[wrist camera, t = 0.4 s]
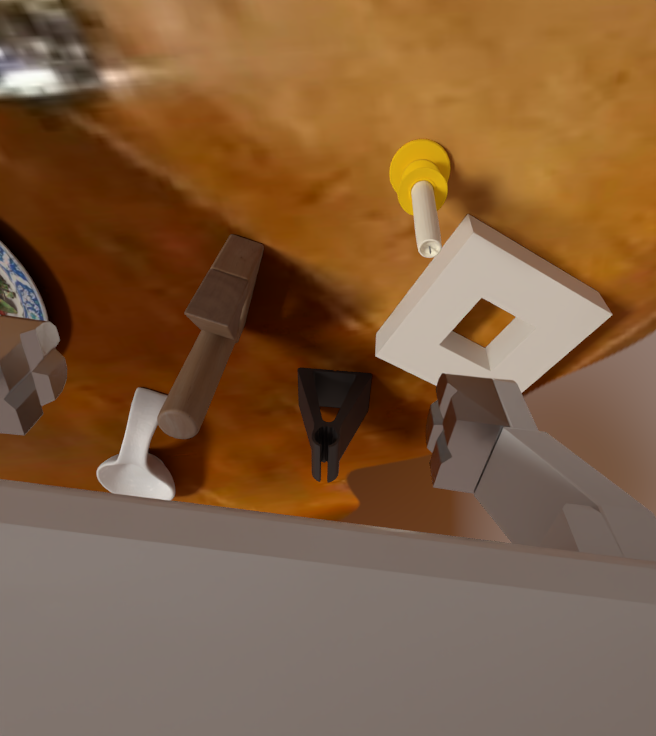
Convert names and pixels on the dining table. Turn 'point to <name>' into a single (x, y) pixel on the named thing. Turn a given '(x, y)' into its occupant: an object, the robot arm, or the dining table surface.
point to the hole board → (500, 287)
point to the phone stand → (353, 402)
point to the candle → (422, 189)
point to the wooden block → (212, 335)
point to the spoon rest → (139, 454)
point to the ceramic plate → (18, 289)
